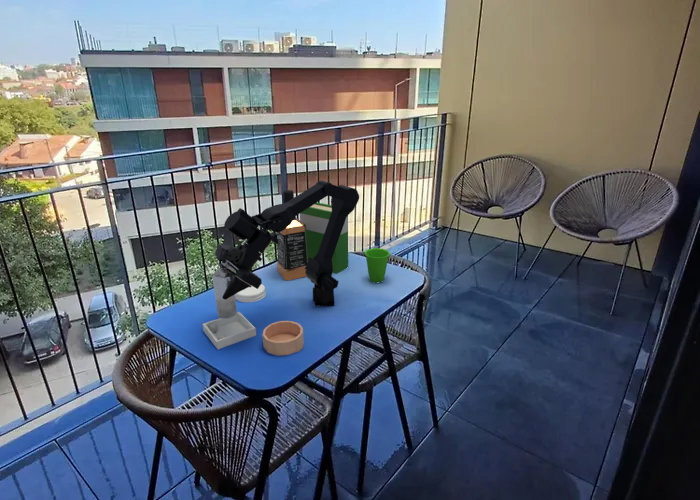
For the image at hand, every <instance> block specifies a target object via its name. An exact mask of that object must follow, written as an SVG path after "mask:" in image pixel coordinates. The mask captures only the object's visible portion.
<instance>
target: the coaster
mask: <svg viewBox="0 0 700 500" xmlns="http://www.w3.org/2000/svg"><path fill="white" fill-rule="evenodd" d="M265 298H266V287H265V285H264V284H261V285H260V287H259V288H258V289H256V288H255V287H253V286H252V287H251V288H250V287H248V288H246V289H244V290H242V291H240V292H238V293H236V294H235V300H236V301H238V302H241V303H253V302H258V301H260V300H262V299H265Z"/></svg>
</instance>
